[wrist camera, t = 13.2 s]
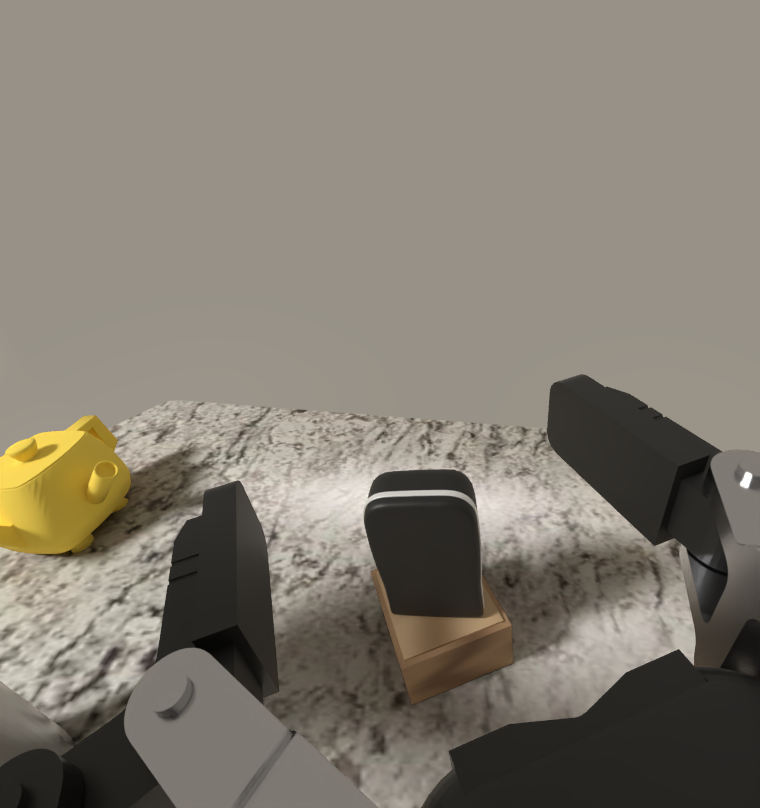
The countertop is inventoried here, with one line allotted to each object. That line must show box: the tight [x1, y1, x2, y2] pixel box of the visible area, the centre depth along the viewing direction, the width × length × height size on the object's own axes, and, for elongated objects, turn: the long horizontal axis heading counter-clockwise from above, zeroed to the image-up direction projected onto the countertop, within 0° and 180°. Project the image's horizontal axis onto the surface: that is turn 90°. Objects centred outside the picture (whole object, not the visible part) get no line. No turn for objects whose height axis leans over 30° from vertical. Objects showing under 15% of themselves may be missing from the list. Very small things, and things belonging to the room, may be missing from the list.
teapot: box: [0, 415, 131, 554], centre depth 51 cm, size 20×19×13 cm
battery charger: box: [364, 469, 485, 617], centre depth 29 cm, size 7×4×11 cm, turn 82°
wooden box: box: [371, 569, 513, 705], centre depth 33 cm, size 8×8×5 cm
